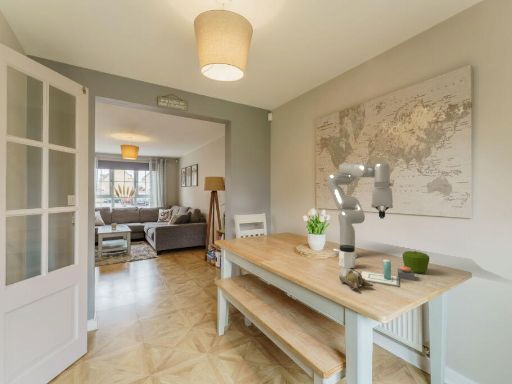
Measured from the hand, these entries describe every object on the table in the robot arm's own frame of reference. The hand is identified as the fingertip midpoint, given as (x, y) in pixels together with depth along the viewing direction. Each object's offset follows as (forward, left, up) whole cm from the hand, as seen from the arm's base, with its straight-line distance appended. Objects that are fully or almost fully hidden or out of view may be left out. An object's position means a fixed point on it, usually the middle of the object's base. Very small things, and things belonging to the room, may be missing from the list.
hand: (382, 218), depth 135 cm
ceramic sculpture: (-11, -33, -29) cm, 45 cm away
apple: (+16, +7, -29) cm, 34 cm away
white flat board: (-1, -16, -29) cm, 33 cm away
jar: (-18, -3, -29) cm, 34 cm away
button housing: (+11, -7, -29) cm, 32 cm away
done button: (+11, -7, -28) cm, 31 cm away
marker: (+3, -16, -28) cm, 33 cm away
